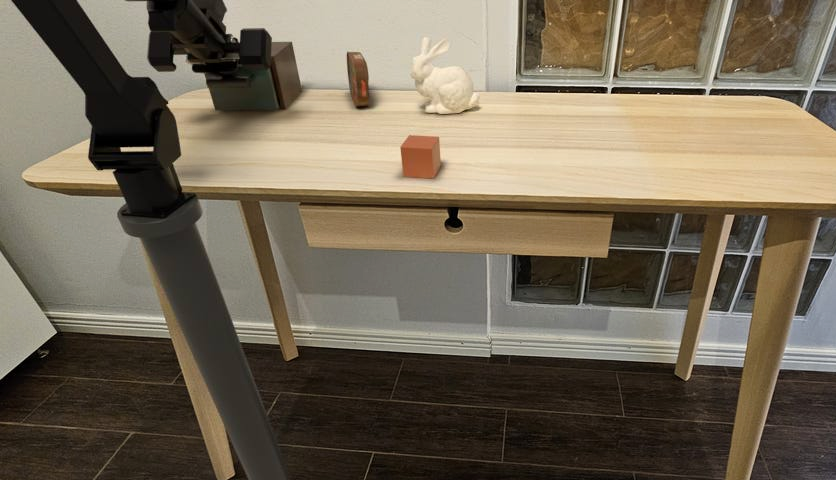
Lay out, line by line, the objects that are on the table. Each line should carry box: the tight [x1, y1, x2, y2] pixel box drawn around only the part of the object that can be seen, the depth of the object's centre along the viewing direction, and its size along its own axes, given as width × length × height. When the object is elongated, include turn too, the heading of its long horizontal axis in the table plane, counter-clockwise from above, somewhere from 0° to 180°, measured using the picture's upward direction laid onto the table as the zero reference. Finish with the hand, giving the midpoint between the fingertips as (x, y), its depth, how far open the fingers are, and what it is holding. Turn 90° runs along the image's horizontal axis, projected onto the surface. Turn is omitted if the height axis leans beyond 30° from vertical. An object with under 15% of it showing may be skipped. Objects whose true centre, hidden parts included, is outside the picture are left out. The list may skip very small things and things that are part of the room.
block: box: [399, 134, 442, 179], centre depth 76 cm, size 4×4×4 cm
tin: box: [346, 51, 371, 108], centre depth 103 cm, size 15×3×8 cm, turn 17°
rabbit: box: [410, 36, 480, 115], centre depth 97 cm, size 12×9×12 cm
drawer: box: [203, 61, 280, 111], centre depth 98 cm, size 15×11×8 cm
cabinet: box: [238, 41, 303, 110], centre depth 103 cm, size 12×13×10 cm
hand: (234, 76), depth 94 cm, fingers closed, pressing on drawer
